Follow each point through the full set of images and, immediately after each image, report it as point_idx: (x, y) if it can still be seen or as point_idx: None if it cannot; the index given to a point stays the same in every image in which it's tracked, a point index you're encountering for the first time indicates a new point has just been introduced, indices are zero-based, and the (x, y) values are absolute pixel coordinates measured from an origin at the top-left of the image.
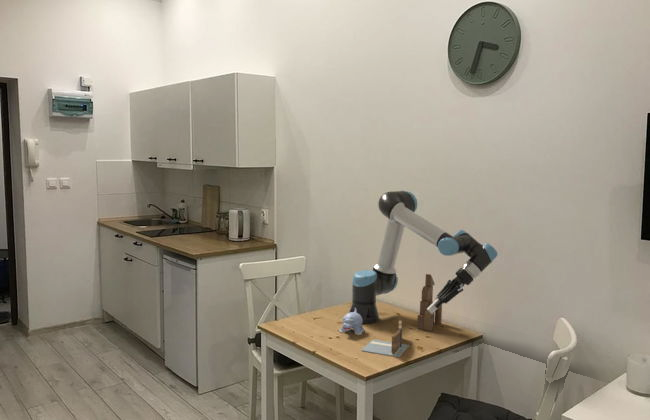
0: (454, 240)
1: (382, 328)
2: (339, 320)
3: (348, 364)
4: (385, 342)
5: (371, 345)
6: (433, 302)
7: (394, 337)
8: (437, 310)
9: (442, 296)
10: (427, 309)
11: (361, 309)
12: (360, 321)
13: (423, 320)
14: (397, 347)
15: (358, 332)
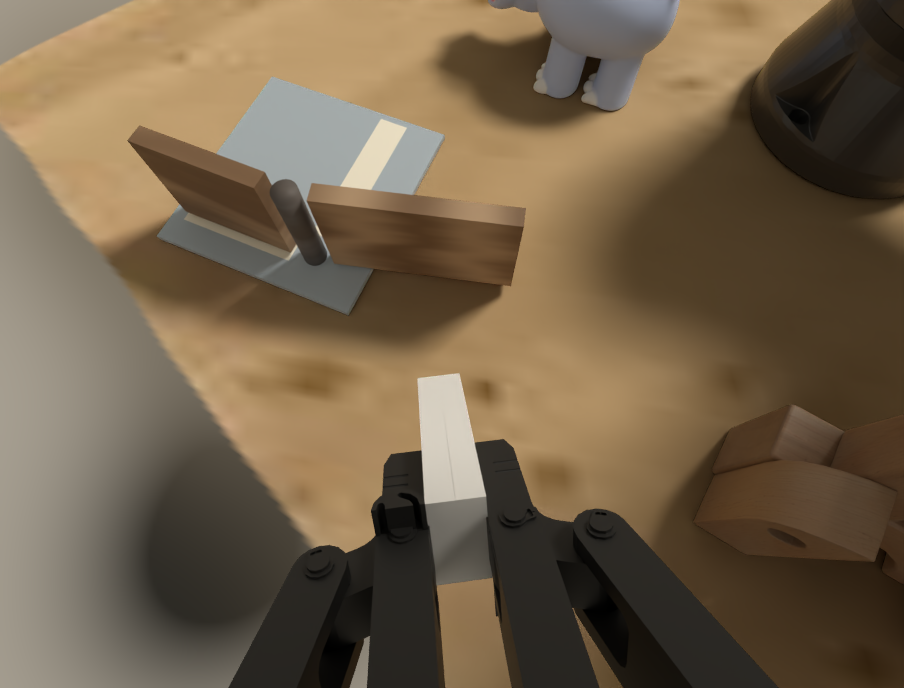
0: None
1: (679, 205)
2: (775, 9)
3: (107, 28)
4: (391, 191)
5: (341, 122)
6: (468, 439)
7: (131, 141)
8: None
9: (404, 582)
10: (433, 376)
11: (821, 26)
12: (571, 24)
13: (751, 460)
14: (236, 224)
15: (543, 72)
